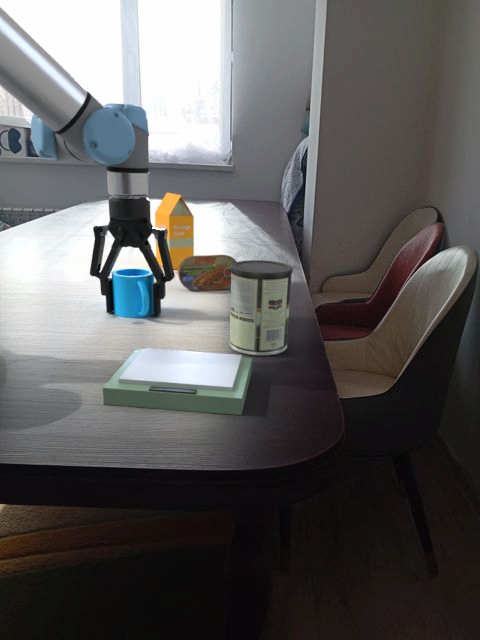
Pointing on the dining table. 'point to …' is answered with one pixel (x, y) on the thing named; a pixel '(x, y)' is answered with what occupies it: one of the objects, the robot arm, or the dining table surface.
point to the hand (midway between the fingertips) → (134, 312)
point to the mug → (133, 292)
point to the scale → (181, 381)
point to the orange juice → (175, 228)
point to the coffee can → (259, 307)
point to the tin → (206, 272)
